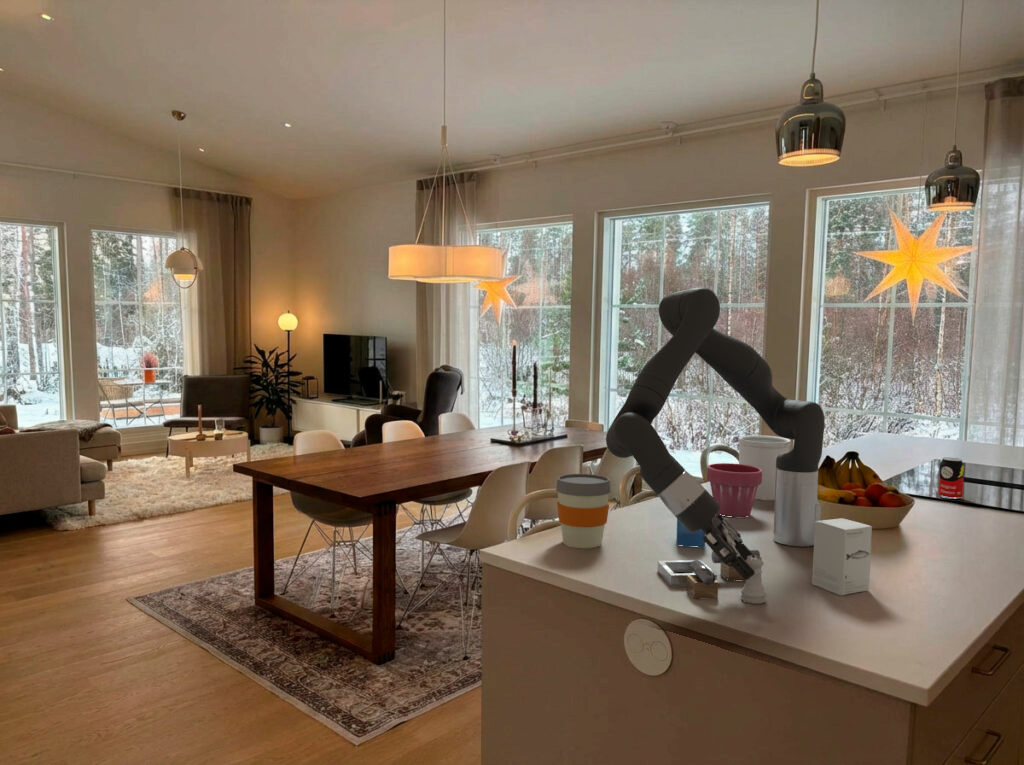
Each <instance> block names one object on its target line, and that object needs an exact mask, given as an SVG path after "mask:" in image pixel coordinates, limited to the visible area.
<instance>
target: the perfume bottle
mask: <svg viewBox="0 0 1024 765" xmlns="http://www.w3.org/2000/svg"><path fill="white" fill-rule="evenodd" d="M704 536H706V534H705V533H704V532H703V530H702V529H699V530H698V531H696V532H694V533H690V532H689V531H688V530H687V529H686V528H685V527H684V525H683V524H682V523H681V522H680V521H679V520H678V519H677V518H676V546H677V545H683V546H698V547H705V548H706V542H704V540H703V537H704Z"/></svg>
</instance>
